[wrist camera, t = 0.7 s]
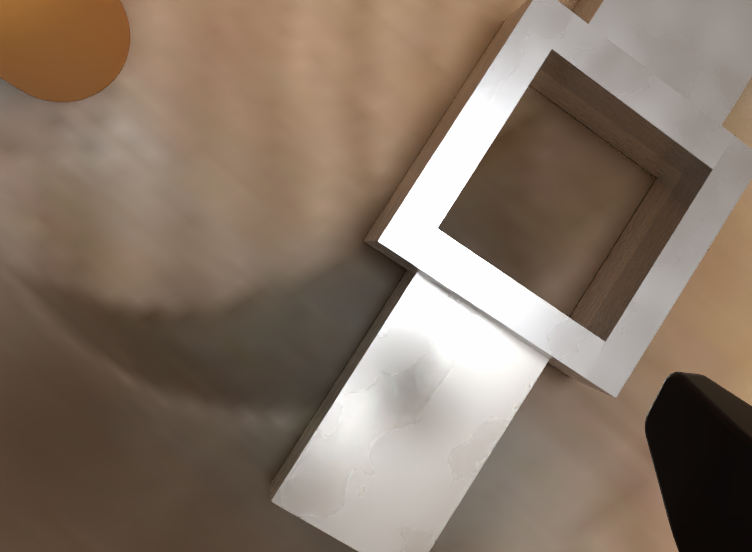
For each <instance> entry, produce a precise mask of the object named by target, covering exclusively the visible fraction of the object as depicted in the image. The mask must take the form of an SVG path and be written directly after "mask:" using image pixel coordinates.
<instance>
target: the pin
mask: <svg viewBox="0 0 752 552" xmlns="http://www.w3.org/2000/svg"><path fill="white" fill-rule="evenodd" d="M129 45H130V28H129V22H128V19H127V15H126V12H125V10H124V8H123V5H122V3H121V2H120V0H0V78H2V79H4V80H5V81H7V82H9V83H10V84H12V85H13V86H15V87H17V88H18V89H20V90H22V91H24V92H25V93H27V94H29V95H32V96H34V97H36V98H40V99H43V100H47V101H54V102H70V101H77V100H81V99H85V98H87V97H90V96H93V95H94V94H96V93H98V92H100V91H101V90H103V89H104V88H105V87H107V86H108V85H109V84H110V83H111V82H112V81H113V80H114V79H115V78H116V76H117V75H118V74H119V73H120V71H121V69H122V67H123V66H124V63H125V61H126V58H127V55H128V51H129Z"/></svg>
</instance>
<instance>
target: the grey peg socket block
mask: <svg viewBox="0 0 752 552" xmlns="http://www.w3.org/2000/svg"><path fill="white" fill-rule="evenodd" d="M751 77H752V0H579V2H578V3H577V5H576V7H575V8H574V10H573V11H571V10H569V9H568V8H567V7H565V6H564V5H563V4H561V3H560V2H559V1H557V0H527V1H526V2H525V3H524V4H522V5H521V6H520V7H519V8H518V9H517V10H516V11H515V12H514V13H513V14H511V15H510V16H509V17H508V18H507V19H506V20H505V21H504V22H503V24H502V26H501V27H500V29H499V30H498V32H497V33H496V35H495V36H494V38H493V40H492V41H491V43H490V44H489V46H488V47H487V49H486V50H485V52H484V53H483V55H482V57H481V58H480V60H479V61H478V63H477V64H476V66H475V67H474V69H473V71H472V72H471V74H470V75H469V77H468V78H467V80H466V81H465V83H464V85H463V86H462V88H461V89H460V91H459V92H458V94H457V95H456V97H455V99H454V100H453V102H452V103H451V105H450V106H449V108H448V109H447V111H446V113H445V114H444V116H443V117H442V119H441V120H440V122H439V123H438V125H437V127H436V128H435V130H434V131H433V133H432V134H431V136H430V137H429V139H428V141H427V142H426V144H425V145H424V147H423V148H422V150H421V151H420V153H419V155H418V156H417V158H416V159H415V161H414V162H413V164H412V165H411V167H410V168H409V170H408V172H407V173H406V175H405V176H404V178H403V179H402V181H401V182H400V184H399V186H398V187H397V189H396V190H395V192H394V193H393V195H392V196H391V198H390V200H389V201H388V203H387V204H386V206H385V207H384V209H383V210H382V212H381V214H380V215H379V217H378V218H377V220H376V221H375V223H374V224H373V226H372V228H371V229H370V231H369V232H368V234H367V235H366V237H365V238H364V240H363V241H364V242H365V243H367V244H368V245H370V246H371V247H373V248H374V249H376V250H378V251H379V252H381V253H382V254H384V255H385V256H387V257H388V258H390V259H391V260H393V261H394V262H396V263H397V264H399V265H400V266H402V267H403V268H405V269H406V270H407V271H406V273H405V274H404V276H403V277H402V279H401V280H400V282H399V284H398V285H397V287H396V288H395V290H394V291H393V293H392V294H391V296H390V298H389V299H388V301H387V302H386V304H385V305H384V307H383V309H382V310H381V312H380V313H379V315H378V316H377V318H376V319H375V321H374V323H373V324H372V326H371V327H370V329H369V330H368V332H367V334H366V335H365V337H364V338H363V340H362V341H361V343H360V345H359V346H358V348H357V349H356V351H355V352H354V354H353V355H352V357H351V359H350V360H349V362H348V363H347V365H346V366H345V368H344V370H343V371H342V373H341V374H340V376H339V377H338V379H337V381H336V382H335V384H334V385H333V387H332V388H331V390H330V391H329V393H328V395H327V396H326V398H325V399H324V401H323V402H322V404H321V406H320V407H319V409H318V410H317V412H316V413H315V415H314V416H313V418H312V420H311V421H310V423H309V424H308V426H307V427H306V429H305V431H304V432H303V434H302V435H301V437H300V438H299V440H298V442H297V443H296V445H295V446H294V448H293V449H292V451H291V452H290V454H289V456H288V457H287V459H286V460H285V462H284V463H283V465H282V467H281V468H280V470H279V471H278V473H277V474H276V476H275V478H274V479H273V481H272V482H271V484H270V487H271V502H273V503H274V504H276V505H278V506H280V507H281V508H283V509H285V510H287V511H288V512H290V513H292V514H294V515H295V516H297V517H299V518H301V519H302V520H304V521H306V522H308V523H309V524H311V525H313V526H315V527H316V528H318V529H320V530H322V531H323V532H325V533H327V534H329V535H330V536H332V537H334V538H336V539H337V540H339V541H341V542H343V543H344V544H346V545H348V546H350V547H351V548H353V549H355V550H357V551H358V552H429V551H430V549H431V548H432V546H433V545H434V543H435V541H436V540H437V538H438V537H439V535H440V533H441V532H442V530H443V529H444V527H445V525H446V524H447V522H448V521H449V519H450V517H451V516H452V514H453V513H454V511H455V509H456V508H457V506H458V505H459V503H460V501H461V500H462V498H463V497H464V495H465V493H466V492H467V490H468V489H469V487H470V485H471V484H472V482H473V481H474V479H475V477H476V476H477V474H478V473H479V471H480V469H481V468H482V466H483V465H484V463H485V461H486V460H487V458H488V457H489V455H490V453H491V452H492V450H493V449H494V447H495V445H496V444H497V442H498V441H499V439H500V437H501V436H502V434H503V433H504V431H505V429H506V428H507V426H508V425H509V423H510V421H511V420H512V418H513V417H514V415H515V413H516V412H517V410H518V409H519V407H520V405H521V404H522V402H523V401H524V399H525V397H526V396H527V394H528V393H529V391H530V389H531V388H532V386H533V385H534V383H535V382H536V380H537V378H538V377H539V375H540V374H541V372H542V370H543V369H544V367H545V366H546V364H547V362H548V363H549V364H551V365H552V366H554V367H555V368H557V369H558V370H560V371H561V372H563V373H565V374H566V375H568V376H569V377H571V378H572V379H575V380H577V381H579V382H581V383H583V384H586V385H588V386H590V387H592V388H594V389H597V390H599V391H601V392H603V393H606V394H608V395H610V396H612V397H614V398H616V397H617V395H618V394H619V392H620V390H621V389H622V387H623V386H624V384H625V382H626V381H627V379H628V378H629V376H630V374H631V373H632V371H633V369H634V368H635V366H636V365H637V363H638V361H639V360H640V358H641V357H642V355H643V353H644V352H645V350H646V348H647V347H648V345H649V344H650V342H651V340H652V339H653V337H654V336H655V334H656V332H657V331H658V329H659V327H660V326H661V324H662V323H663V321H664V319H665V318H666V316H667V315H668V313H669V311H670V310H671V308H672V306H673V305H674V303H675V302H676V300H677V298H678V297H679V295H680V294H681V292H682V290H683V289H684V287H685V285H686V284H687V282H688V281H689V279H690V277H691V276H692V274H693V273H694V271H695V269H696V268H697V266H698V264H699V263H700V261H701V260H702V258H703V256H704V255H705V253H706V252H707V250H708V248H709V247H710V245H711V243H712V242H713V240H714V239H715V237H716V235H717V234H718V232H719V231H720V229H721V227H722V226H723V224H724V222H725V221H726V219H727V218H728V216H729V214H730V213H731V211H732V210H733V208H734V206H735V205H736V203H737V201H738V200H739V198H740V197H741V195H742V193H743V192H744V190H745V189H746V187H747V185H748V184H749V182H750V180H751V179H752V149H751V148H750V147H749V146H747V145H746V144H745V143H743V142H742V141H741V140H739V139H738V138H737V137H736V136H734V135H733V134H732V133H730V132H729V131H728V130H726V129H725V128H724V127H722V126H721V125H722V124H723V122H724V120H725V119H726V117H727V116H728V114H729V112H730V111H731V109H732V108H733V106H734V104H735V103H736V101H737V100H738V98H739V96H740V95H741V93H742V92H743V90H744V88H745V87H746V85H747V84H748V82H749V80H750V79H751ZM529 85H530V86H532V87H533V88H534V89H536V90H537V91H539V92H540V93H541V94H543V95H544V96H545V97H547V98H548V99H549V100H551V101H552V102H554V103H555V104H556V105H558V106H559V107H560V108H562V109H563V110H564V111H566V112H567V113H569V114H570V115H571V116H573V117H574V118H575V119H577V120H578V121H579V122H581V123H582V124H584V125H585V126H586V127H588V128H589V129H590V130H592V131H593V132H594V133H596V134H597V135H599V136H600V137H601V138H603V139H604V140H605V141H607V142H608V143H609V144H611V145H612V146H614V147H615V148H616V149H618V150H619V151H620V152H622V153H623V154H624V155H626V156H627V157H629V158H630V159H631V160H633V161H634V162H635V163H637V164H638V165H639V166H641V167H642V168H644V169H645V170H646V171H648V172H649V173H650V174H652V175H653V176H654V177H656V180H655V182H654V183H653V185H652V186H651V188H650V190H649V191H648V193H647V194H646V196H645V198H644V199H643V201H642V202H641V204H640V206H639V207H638V209H637V210H636V212H635V214H634V215H633V217H632V218H631V220H630V222H629V223H628V225H627V226H626V228H625V230H624V231H623V233H622V234H621V236H620V238H619V239H618V241H617V242H616V244H615V246H614V247H613V249H612V250H611V252H610V254H609V255H608V257H607V258H606V260H605V262H604V263H603V265H602V266H601V268H600V270H599V271H598V273H597V274H596V276H595V278H594V279H593V281H592V282H591V284H590V286H589V287H588V289H587V290H586V292H585V294H584V295H583V297H582V298H581V300H580V302H579V303H578V305H577V306H576V308H575V310H574V311H573V313H572V314H571V316H570V318H569V317H568V316H566V315H565V314H563V313H562V312H560V311H559V310H557V309H556V308H554V307H553V306H551V305H550V304H549V303H547V302H546V301H544V300H543V299H541V298H540V297H538V296H537V295H535V294H534V293H532V292H531V291H529V290H528V289H526V288H525V287H523V286H522V285H520V284H519V283H517V282H516V281H514V280H513V279H511V278H510V277H508V276H507V275H506V274H504V273H503V272H501V271H500V270H498V269H497V268H495V267H494V266H492V265H491V264H489V263H488V262H486V261H485V260H483V259H482V258H480V257H479V256H477V255H476V254H474V253H473V252H471V251H470V250H468V249H467V248H466V247H464V246H463V245H461V244H460V243H458V242H457V241H455V240H454V239H452V238H451V237H449V236H448V235H446V234H445V233H443V232H442V231H440V230H439V229H437V228H438V226H439V225H440V223H441V222H442V220H443V219H444V217H445V216H446V214H447V212H448V211H449V209H450V208H451V206H452V205H453V203H454V201H455V200H456V198H457V197H458V195H459V194H460V192H461V190H462V189H463V187H464V186H465V184H466V183H467V181H468V180H469V178H470V176H471V175H472V173H473V172H474V170H475V169H476V167H477V165H478V164H479V162H480V161H481V159H482V158H483V156H484V154H485V153H486V151H487V150H488V148H489V147H490V145H491V144H492V142H493V140H494V139H495V137H496V136H497V134H498V133H499V131H500V129H501V128H502V126H503V125H504V123H505V122H506V120H507V118H508V117H509V115H510V114H511V112H512V111H513V109H514V108H515V106H516V104H517V103H518V101H519V100H520V98H521V97H522V95H523V93H524V92H525V90H526V89H527V87H528V86H529Z"/></svg>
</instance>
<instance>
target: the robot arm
mask: <svg viewBox="0 0 752 552" xmlns="http://www.w3.org/2000/svg"><path fill="white" fill-rule="evenodd" d="M645 433H646V438H647V442H648V446H649V449H650V453H651V457H652V461H653V464H654V468H655V472H656V475H657V479H658V483H659V487H660V490H661V494H662V498H663V502H664V505H665V509H666V513H667V517H668V520H669V523H670V527H671V530H672V533H673V537H674V539H675V542H676V545H677V548H678V551H679V552H752V406H751V405H749V404H748V403H746V402H744V401H743V400H741V399H740V398H738V397H737V396H735V395H734V394H732V393H731V392H729V391H727V390H726V389H724V388H723V387H721V386H720V385H718V384H717V383H715V382H714V381H712V380H711V379H709V378H707V377H706V376H704V375H700V374H693V373H684V372H674V373H672V374H670V375H669V376H668V377H667V378H666V380H665V381H664V383H663V385H662V387H661V389H660V391H659V393H658V395H657V397H656V399H655V401H654V403H653V405H652V407H651V409H650V411H649V412H648V415H647V417H646V421H645Z"/></svg>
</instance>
